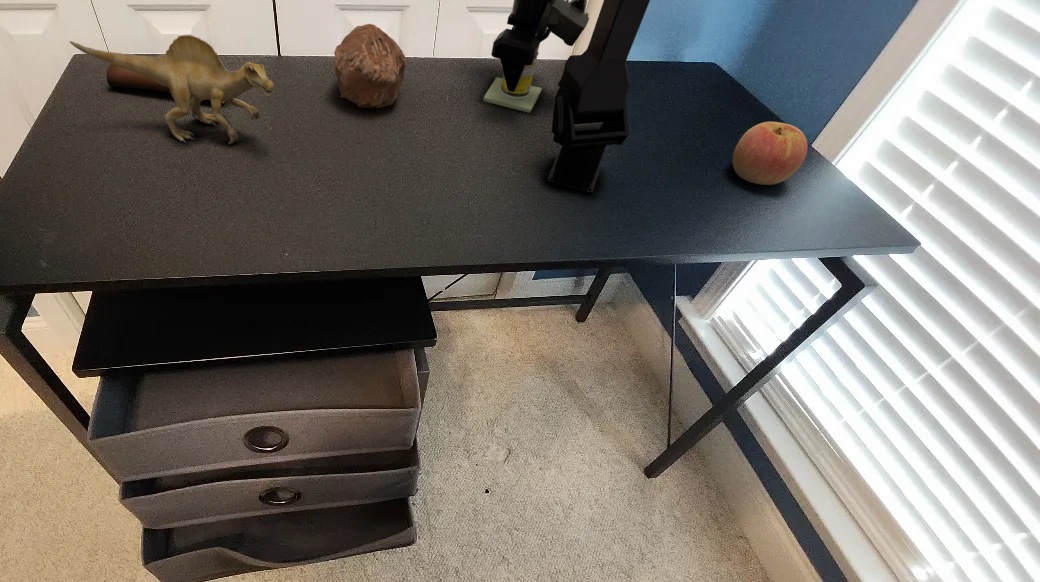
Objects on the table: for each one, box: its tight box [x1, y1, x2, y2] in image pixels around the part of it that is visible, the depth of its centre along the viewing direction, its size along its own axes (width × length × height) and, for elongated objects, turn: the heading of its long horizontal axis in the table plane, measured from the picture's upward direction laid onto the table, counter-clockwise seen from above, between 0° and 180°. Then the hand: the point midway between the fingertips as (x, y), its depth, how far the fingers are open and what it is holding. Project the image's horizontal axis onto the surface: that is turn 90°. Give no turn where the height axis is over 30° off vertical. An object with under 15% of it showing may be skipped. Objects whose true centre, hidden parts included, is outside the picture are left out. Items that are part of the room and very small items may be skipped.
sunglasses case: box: [105, 63, 226, 105], centre depth 92 cm, size 18×7×7 cm
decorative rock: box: [333, 23, 407, 109], centre depth 92 cm, size 13×11×10 cm
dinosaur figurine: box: [69, 34, 275, 145], centre depth 82 cm, size 8×26×13 cm, turn 81°
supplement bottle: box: [501, 56, 538, 99], centre depth 96 cm, size 5×5×8 cm
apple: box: [732, 121, 809, 186], centre depth 86 cm, size 9×9×8 cm
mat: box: [482, 76, 543, 114], centre depth 99 cm, size 8×8×1 cm
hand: (515, 84), depth 98 cm, fingers open, 5 cm apart
